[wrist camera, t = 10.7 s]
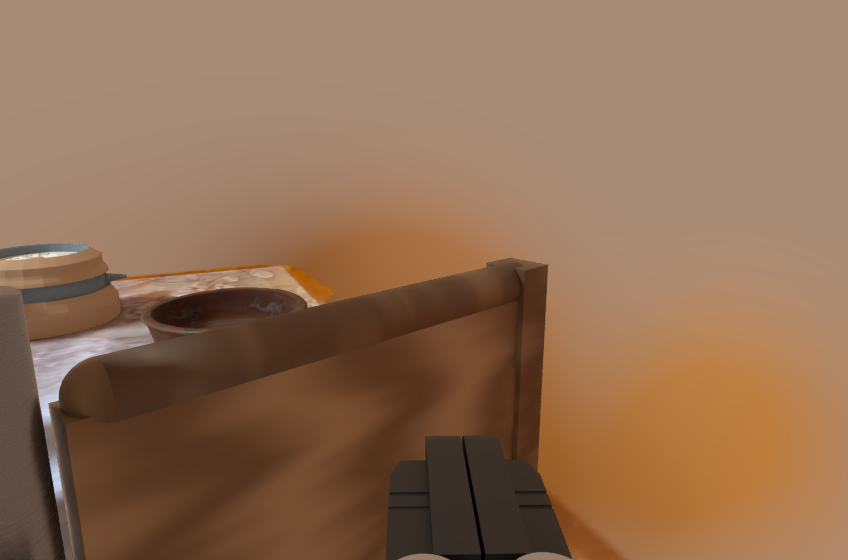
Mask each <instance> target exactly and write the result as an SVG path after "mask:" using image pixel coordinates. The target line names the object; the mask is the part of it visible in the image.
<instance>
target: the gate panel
mask: <svg viewBox="0 0 848 560" xmlns="http://www.w3.org/2000/svg"><path fill="white" fill-rule="evenodd" d="M547 274H548V265H546V264H541V263H536V262H530V261H525V260H519V259H514V258H507V259H503V260H498V261H494V262H489V263H487V267H486V268H482V269H477V270H473V271H469V272H465V273H460V274H456V275H451V276H447V277H442V278H438V279H434V280H429V281H425V282H420V283H416V284H411V285H407V286H403V287H398V288H394V289H390V290H385V291H381V292H376V293H372V294H367V295H363V296H359V297H355V298H350V299H346V300H342V301H337V302H332V303H328V304H323V305H319V306H315V307H310V308H306V309H301V310H297V311H293V312H288V313H284V314H280V315H275V316H271V317H266V318H262V319H258V320H253V321H249V322H244V323H240V324H236V325H231V326H227V327H222V328H218V329H214V330H209V331H205V332H200V333H196V334H192V335H187V336H183V337H178V338H174V339H170V340H165V341H161V342H156V343H152V344H148V345H143V346H139V347H134V348H130V349H126V350H121V351H117V352H112V353H108V354H104V355H99V356H95V357H91V358H88V359H86V360H84V361H82V362H80V363H78V364H77V365H76V366H74V367H73V368H72V369H71V370H70V371H69V372H68V373H67V375H66V376H65V378H64V379H63V381H62V384H61V387H60V390H59V401H55V402H52V403H48V404H49V410H50V416H51V422H52V428H53V435H54V441H55V447H56V453H57V460H58V466H59V472H60V478H61V484H62V491H63V497H64V503H65V509H66V515H67V522H68V528H69V534H70V540H71V547H72V553H73V559H74V560H386V545H387V524H388V502H389V481H390V474H391V473H392V472H393V470H394V469H395V468H396V466H397V465H398V464H399V462H400V461H408V460H425V439H426V436H460V437H461V442H462V436H474V435H497V436H498V438H499V441H500V445H501V448H502V451H503V455H504V458H505V460H525V461H526V462H527V463H528V464H529V465H530V466H532V467H533V468H534V469H535V470H536V471H537V464H538V445H539V426H540V407H541V388H542V369H543V350H544V330H545V311H546V293H547Z"/></svg>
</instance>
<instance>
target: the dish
mask: <svg viewBox="0 0 848 560" xmlns="http://www.w3.org/2000/svg"><path fill="white" fill-rule="evenodd" d="M306 308H307V303H306V301H305V300H304V299H303V298H301V297H300V296H298V295H296V294H294V293H291V292H288V291H285V290H280V289H269V288H226V289H217V290H211V291H204V292H198V293H192V294H188V295H184V296H180V297H176V298H172V299H169V300H166V301H163V302H160V303H157V304H155V305H153V306H150V307H148V308H147V309H145V310H144V312H143V313H142V314H141V321H142V322H143V323H144V324H145V325H147V326H148V328H149V330H150V333H151V335H152V337H153V339H154V341H155V343H156V342H161V341H165V340H170V339H174V338H178V337H183V336H187V335H192V334H196V333H200V332H205V331H209V330H214V329H218V328H222V327H227V326H231V325H236V324H240V323H244V322H249V321H253V320H258V319H262V318H266V317H271V316H275V315H280V314H284V313H288V312H293V311H297V310H301V309H306Z"/></svg>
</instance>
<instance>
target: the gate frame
mask: <svg viewBox="0 0 848 560" xmlns="http://www.w3.org/2000/svg"><path fill="white" fill-rule="evenodd" d="M0 560H65V554H64V548H63V542H62V536H61V529H60V523H59V517H58V511H57V505H56V499H55V493H54V487H53V481H52V475H51V469H50V463H49V457H48V451H47V444H46V438H45V432H44V426H43V420H42V414H41V408H40V402H39V396H38V390H37V384H36V378H35V372H34V365H33V359H32V353H31V347H30V341H29V335H28V329H27V323H26V317H25V311H24V305H23V299H22V293H21V290H20V289H18V288H15V287H10V286H0Z"/></svg>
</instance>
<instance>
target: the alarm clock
mask: <svg viewBox="0 0 848 560" xmlns="http://www.w3.org/2000/svg"><path fill="white" fill-rule="evenodd" d="M107 271H108V266H107V264H106V263H105V262H104V261H103V259H102V252H100V251H98V250H96V249H93V248H91V247H89V246H87V245H82V244H73V243H56V244H37V245H26V246H19V247H11V248H5V249H0V286H10V287H15V288H18V289H20V290H21V293H22V299H23V305H24V311H25V317H26V323H27V329H28V335H29V340H36V339H44V338H52V337H57V336H63V335H68V334H73V333H77V332H81V331H85V330H88V329H92V328H95V327H98V326H100V325H103V324H106V323H108V322H110V321H112V320H113V319H115V318H116V317H117V316H118V315H119V314H120V313H121V308H120V300H119V293H118V291H117V290H116V288H115V287H114V286H113V285H112V284H111V282H110V281H113V280H118V279H122V278H126V275H122V274H107V273H106V272H107Z"/></svg>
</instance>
